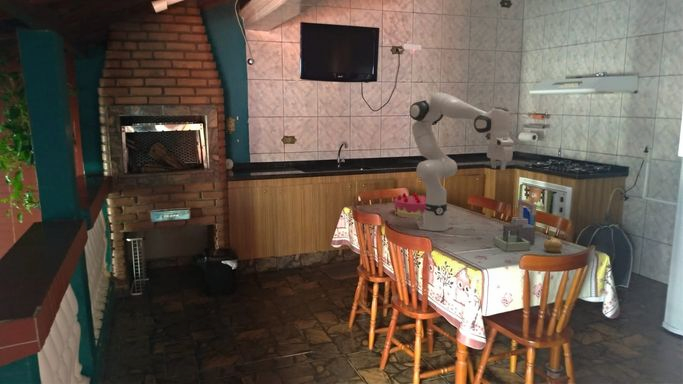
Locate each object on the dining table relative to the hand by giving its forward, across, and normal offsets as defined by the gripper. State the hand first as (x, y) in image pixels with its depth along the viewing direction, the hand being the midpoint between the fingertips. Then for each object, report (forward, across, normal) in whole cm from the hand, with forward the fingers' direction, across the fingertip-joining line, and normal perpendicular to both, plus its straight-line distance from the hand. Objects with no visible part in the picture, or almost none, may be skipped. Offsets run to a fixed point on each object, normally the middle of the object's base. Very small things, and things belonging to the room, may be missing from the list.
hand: (498, 168), depth 251 cm
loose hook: (+36, +11, +3) cm, 38 cm away
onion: (+38, +21, +19) cm, 47 cm away
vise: (+37, +3, +13) cm, 39 cm away
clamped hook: (+29, +6, +13) cm, 32 cm away
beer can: (+37, -8, +21) cm, 43 cm away
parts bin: (+37, +11, +3) cm, 39 cm away
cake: (+37, -71, -19) cm, 82 cm away
